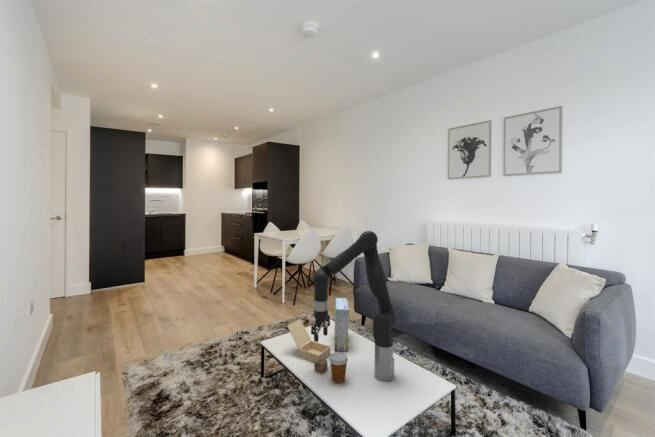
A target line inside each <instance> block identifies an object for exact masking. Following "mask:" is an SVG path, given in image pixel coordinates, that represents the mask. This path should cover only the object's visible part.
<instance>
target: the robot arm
mask: <svg viewBox="0 0 655 437" xmlns="http://www.w3.org/2000/svg"><path fill="white" fill-rule="evenodd" d="M378 238H379V237H378V236H377V233H375V232H374V231H371V230H365V231H363V232H362V233H361V234H360V236H359V238H357V239H356V240H355V242H354V243H353V244H351V245H350V246H349V247H348V248H346V249H345V250H343V251H342V252H340V253H339V254H337V255H336V256H334V257H333V259H331V260H330V261H328V263H327V264H324V265H322V266H321V267H320V268H318V269H317V270H316V271H315V272H314V275H313V283H314V291H313V293H314V294H313V297H314V298H313V318H314V319H315V321H314V322H311V324H310V325H311V327H310V328H311V330H310V332H311V333H310V334H311V335H313V341H314V342H317V343H319V333H320V332H321V330H322V328H323V330H322V331H323V333H322V334H323V336H328V328H329V327H330V326H331V317H330V316H331V315H329V302H328V296H329V294H328V284H329V283H328V282H329V280H328V279H329V278H330V277H331V276H333V275H337V274H338V273H339V272H341V271H342V270H343V269H344V268H346V267H347V266H348V265H349V264H350V263H351V262H352V261H354V260H355V259H356V258H358V256H359V257H360V255H361V254H363V255H364V256H363V257H364V261H365V262H364V264H365V274H366V279H367V284H368V288H369V290H370V292H371V293H372V295H373V297H374V298H375V299H376V302H377V305H378V310H379V313H377V314H375V316H374V317H373V320H372V336H373V339H374V370H373V371H374V372H373V373H374V374H373V375H374V377H375V378H376V379H377V380H379V381H382V382H383V381H384V382H391V381H392V379H393V378H394V376H395V357H394V339H393V337H392V336H391V333H390V331H391V329H393V328H394V327H395V325H396V322H397V320H396V315H395V311H394V308H393V305H392V303H391V299H390V298H391V297H390V294H389V290H388V284H387V279H386V274H385V270H384V268H383V265H382V263H381V260H380V257H379V253H378V252H379V251H378V241H379V240H378Z"/></svg>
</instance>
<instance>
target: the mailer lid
mask: <svg viewBox="0 0 655 437" xmlns="http://www.w3.org/2000/svg"><path fill="white" fill-rule="evenodd" d="M286 327H287V328H288V330H289V332H290V334H291V337H292V339H293V341H294V342H295V344H296V346H297V349H299V348H301V347H302V346H304V345H305V344H307V343H308V342H310V341H312V339H311V337H310V335H309V333H308V331H307V328H306V327H305V325H304V323H303V321H302V319H301V318H299V319H296V320H295V321H293V322H291V323H290V324H288V325H286Z"/></svg>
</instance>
